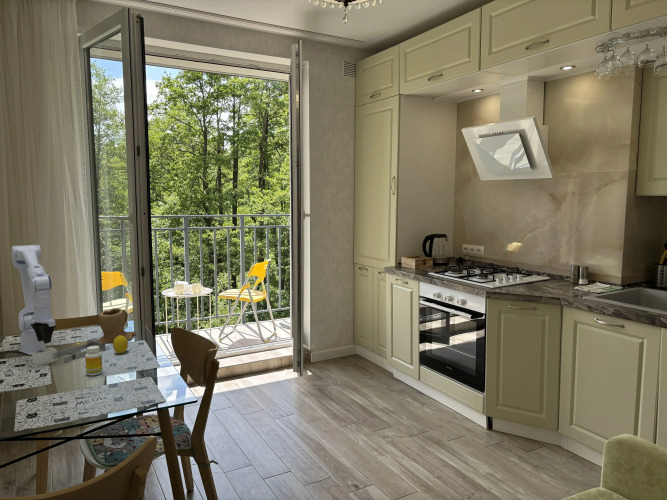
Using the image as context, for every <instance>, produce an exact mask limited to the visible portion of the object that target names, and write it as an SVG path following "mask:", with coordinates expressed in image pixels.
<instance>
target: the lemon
mask: <svg viewBox="0 0 667 500" xmlns="http://www.w3.org/2000/svg"><path fill="white" fill-rule="evenodd" d="M128 342H129V341H127V339H126V338H125V337H124V336H121V335H119V336H117V337H116V338H115V339H114V342H113V343H112V347H113V350H114V352H116V353H118V354H119V353H122V354H123V353H125V352H126V351H127V349H128V347H129V343H128Z"/></svg>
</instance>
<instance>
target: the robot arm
mask: <svg viewBox="0 0 667 500" xmlns="http://www.w3.org/2000/svg"><path fill="white" fill-rule="evenodd" d="M10 254H11V255H10V256H11V262H12V266H13V268H15V269H18V271H19V274H20V282H21V288H22V293H23V296H22V297H23V302H24V308H22V309H21V310H20V311H19V312H18V315H17V316H18V318H17V319H18V328H19V330H20V331H21V333H20V347H21V349H19V350H18V352H21V353H24V354H27V355H30V356H32V351H36V350H40V349H44V348H47V347H46V344H49V343H52V338H53V333H54V332H55V329H56V327H57V324H56V320H55V319H53V317H52V302H51V290H52V286H53V285H52V284H53V283H52V281H53V280H52V278H51V275H50V274H49V273H46V271H45V268H44V266H43V265H42V264H40V261H41V258H42V249H41V245H39V244H32V245H30V244H28V245H12V247H11V249H10Z"/></svg>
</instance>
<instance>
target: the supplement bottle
mask: <svg viewBox="0 0 667 500" xmlns="http://www.w3.org/2000/svg"><path fill="white" fill-rule="evenodd" d="M86 351H87V352H88V353H87V354H86V355H85V357H84V358H85V359H84V360H85V361H84V362H85V373H86V375H87V376H97V375H99V374H102V373H103V354H102V352H99V346H90V347H88V348H86Z"/></svg>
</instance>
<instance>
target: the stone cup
mask: <svg viewBox="0 0 667 500" xmlns="http://www.w3.org/2000/svg"><path fill="white" fill-rule="evenodd" d="M98 322H99V326H100V328H101V330H102V333H103V336H100V337H99V338H98V340H97V341H99V342H102V343H105V345H107V344H113V342H114V339H115V338H116V337H117V336H119V335H121V336H124V337H125V338H126V339H127V341H128V342H129V341H132V339H133V338H134V337H136V331H126V330H125V325H126V314H125V312H124V309H122V308H119V307H113V308H110V309H106V310H102V311H101V312H100V313H99V315H98Z"/></svg>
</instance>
